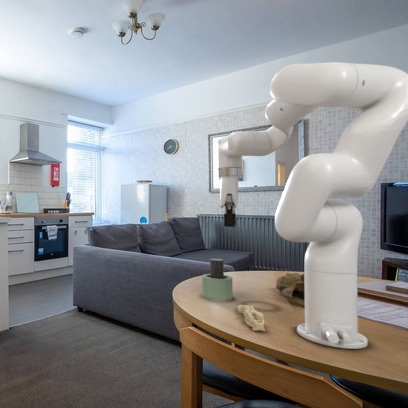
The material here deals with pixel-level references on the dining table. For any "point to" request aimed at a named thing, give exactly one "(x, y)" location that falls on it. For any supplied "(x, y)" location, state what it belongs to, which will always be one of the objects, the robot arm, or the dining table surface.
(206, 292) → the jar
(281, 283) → the figurine
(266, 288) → the dining table surface
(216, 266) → the peg
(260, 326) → the beige lumpy bar
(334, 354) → the dining table surface
